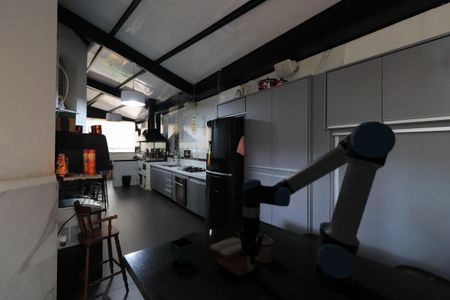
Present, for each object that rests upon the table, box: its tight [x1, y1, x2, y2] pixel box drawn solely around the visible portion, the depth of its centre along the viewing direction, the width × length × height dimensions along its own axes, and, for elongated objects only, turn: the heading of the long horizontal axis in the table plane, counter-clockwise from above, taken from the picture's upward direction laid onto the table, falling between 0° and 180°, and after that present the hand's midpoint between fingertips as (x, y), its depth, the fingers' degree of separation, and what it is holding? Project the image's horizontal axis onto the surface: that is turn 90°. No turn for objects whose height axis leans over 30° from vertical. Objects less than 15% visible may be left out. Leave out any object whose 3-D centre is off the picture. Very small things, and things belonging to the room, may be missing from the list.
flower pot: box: [169, 236, 196, 266], centre depth 99 cm, size 9×9×9 cm
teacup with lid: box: [255, 234, 275, 264], centre depth 104 cm, size 12×9×12 cm
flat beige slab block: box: [208, 236, 246, 263], centre depth 99 cm, size 12×16×8 cm
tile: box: [217, 253, 256, 278], centre depth 96 cm, size 14×10×4 cm
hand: (250, 270), depth 90 cm, fingers closed
